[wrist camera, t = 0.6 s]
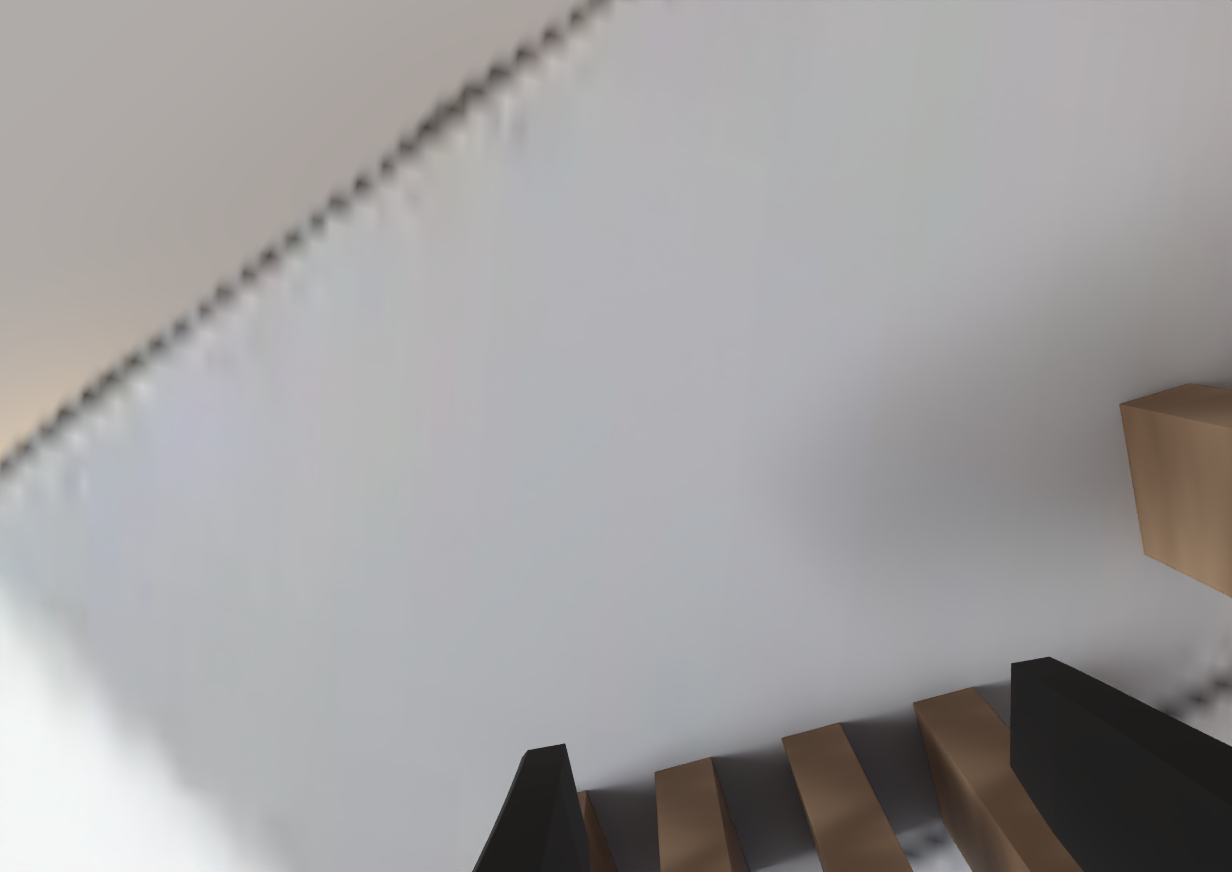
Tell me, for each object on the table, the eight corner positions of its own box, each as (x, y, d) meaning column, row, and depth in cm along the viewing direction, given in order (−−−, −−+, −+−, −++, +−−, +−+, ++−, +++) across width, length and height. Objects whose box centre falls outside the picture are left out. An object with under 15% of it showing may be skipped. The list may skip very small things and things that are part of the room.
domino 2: (972, 686, 21) (1139, 875, 14) (1001, 810, 22) (1169, 1041, 15) (912, 702, 21) (1048, 896, 14) (944, 824, 22) (1084, 1060, 15)
